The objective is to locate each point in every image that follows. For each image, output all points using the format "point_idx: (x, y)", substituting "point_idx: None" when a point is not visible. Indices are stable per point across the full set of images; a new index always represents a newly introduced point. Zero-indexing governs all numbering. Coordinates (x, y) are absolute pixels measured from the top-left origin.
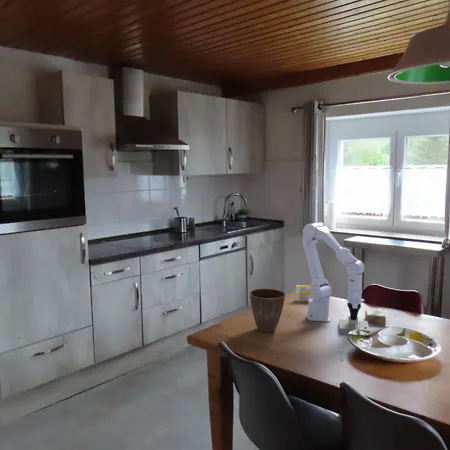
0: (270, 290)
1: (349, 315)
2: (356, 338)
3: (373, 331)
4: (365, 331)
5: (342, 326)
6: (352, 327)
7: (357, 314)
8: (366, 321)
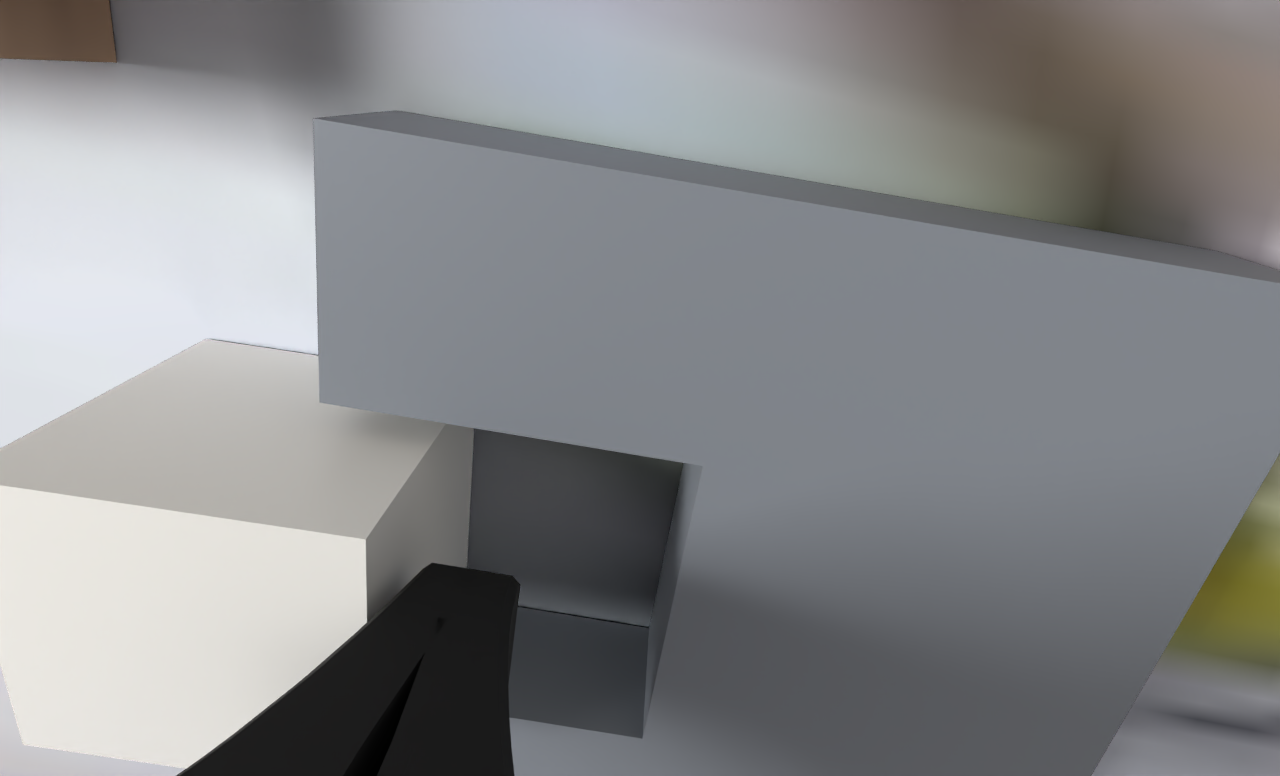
0: None
1: None
2: (1255, 580)
3: (799, 7)
4: (1263, 413)
5: None
6: (967, 702)
7: (501, 738)
8: (357, 165)
